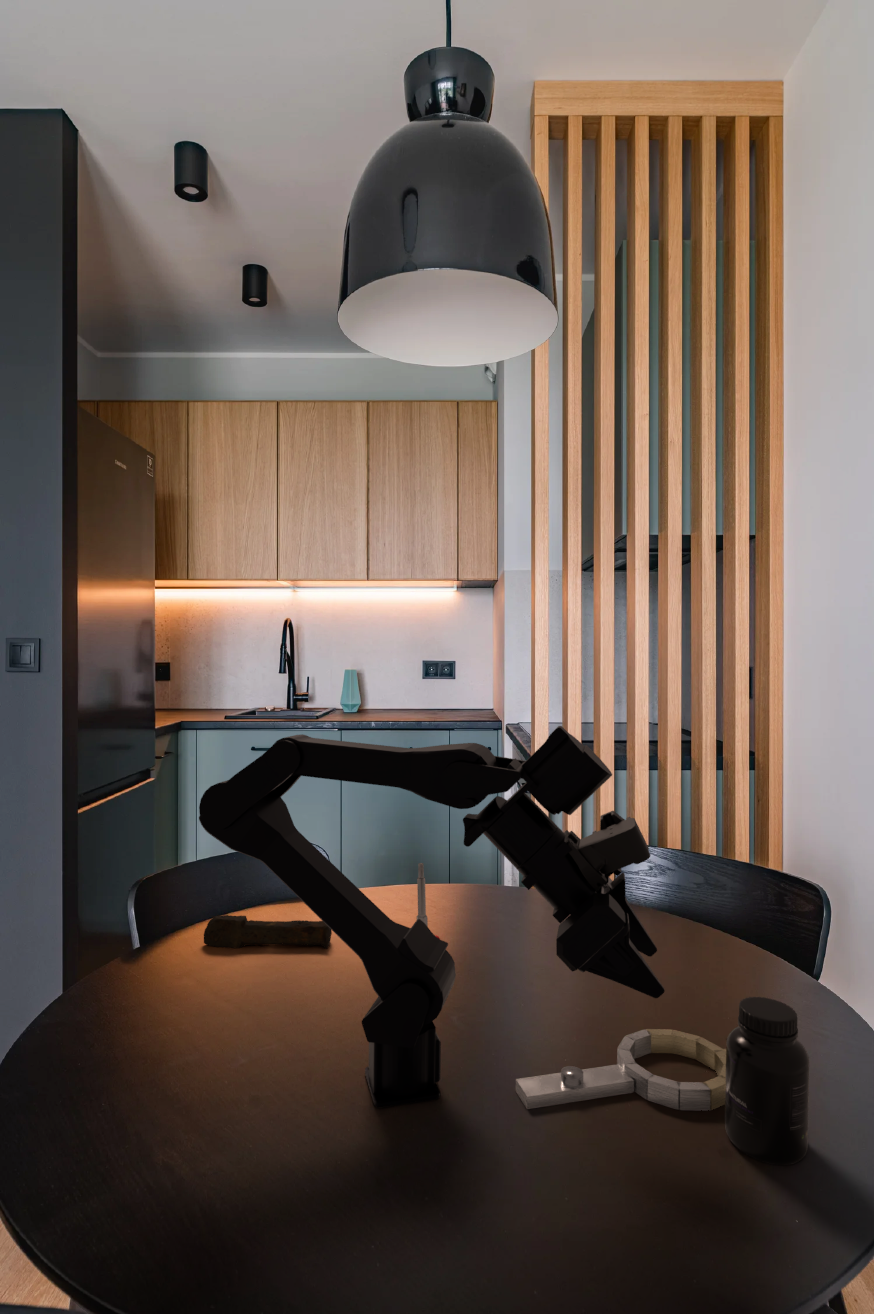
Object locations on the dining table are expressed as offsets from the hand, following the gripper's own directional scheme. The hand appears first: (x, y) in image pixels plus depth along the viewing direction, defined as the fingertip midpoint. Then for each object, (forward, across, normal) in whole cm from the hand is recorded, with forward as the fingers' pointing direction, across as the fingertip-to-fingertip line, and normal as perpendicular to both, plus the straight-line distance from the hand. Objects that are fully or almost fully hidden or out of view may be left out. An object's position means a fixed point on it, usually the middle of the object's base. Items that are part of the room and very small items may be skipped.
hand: (657, 972), depth 67 cm
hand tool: (-29, +29, +48) cm, 63 cm away
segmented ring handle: (+6, +5, +14) cm, 16 cm away
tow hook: (-15, +36, +34) cm, 52 cm away
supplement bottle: (+17, 0, +4) cm, 17 cm away
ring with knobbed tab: (+16, +12, +5) cm, 20 cm away
